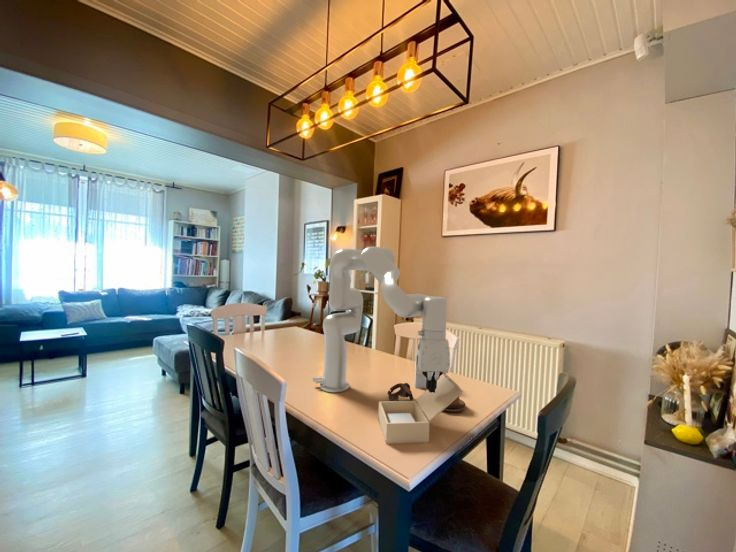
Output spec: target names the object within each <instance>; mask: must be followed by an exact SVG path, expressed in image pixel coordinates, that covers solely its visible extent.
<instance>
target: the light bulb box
mask: <svg viewBox="0 0 736 552" xmlns="http://www.w3.org/2000/svg"><path fill="white" fill-rule="evenodd" d="M414 363H415V364H414V366H415V367H414V388H415V389H417V388H418V389H427V388H426V377H425V376H424V375H423V374H418V373H417V372H416V367H417V366H416V359H415V362H414ZM432 373H433V372H431V377H432ZM440 378H441V376H440V377H439V379H440ZM439 379H438V380H439Z"/></svg>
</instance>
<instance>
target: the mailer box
mask: <svg viewBox="0 0 736 552" xmlns="http://www.w3.org/2000/svg"><path fill="white" fill-rule="evenodd" d="M377 417H378V418H377V420H378V422H379V425H380V428H381V429H380V430H381V432H382V436H383V438H384V441H385V444H386V445H388V444H389V445H391V444H392V445H394V444H397V445H398V444H415V443H417V444H418V443H419V444H420V443H421V444H422V443H430V423H431V422H430V421H429V419H428V418H427V416H426V415H425V413H424V411H423V410H422V408H421V407H420V405H419V404H418V402H417V401H416V400H414V401H410V400H398V401H397V400H394V401H390V400H387V401H378V416H377Z"/></svg>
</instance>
